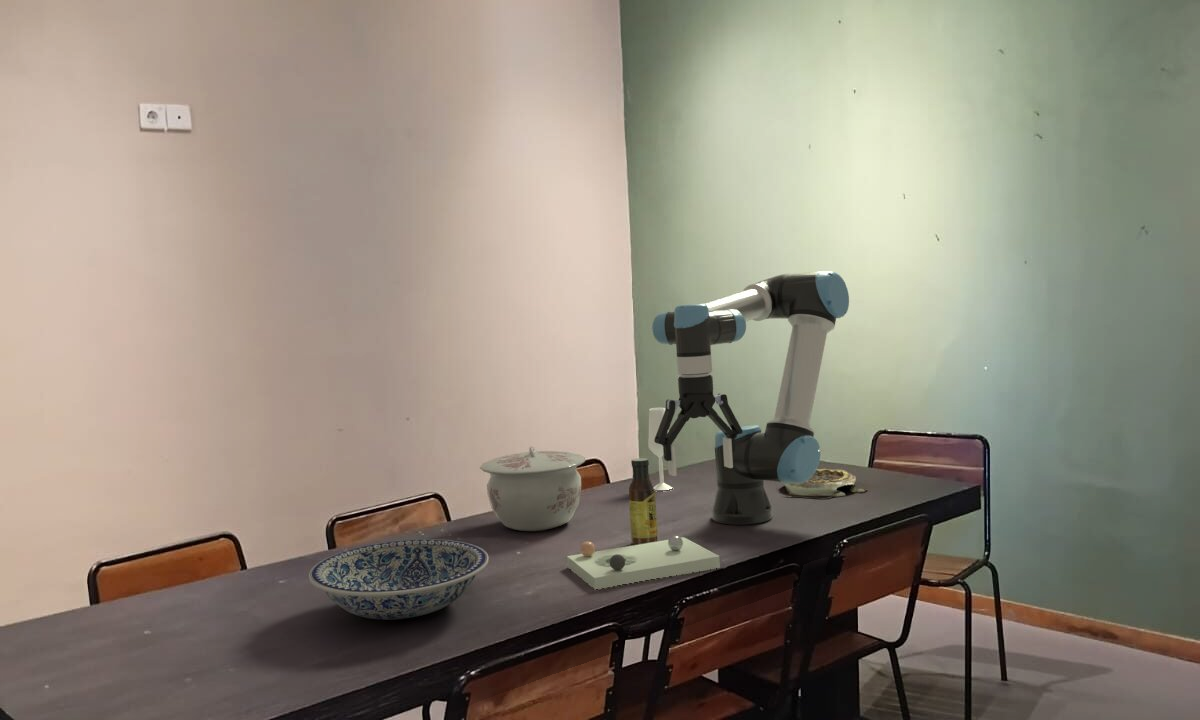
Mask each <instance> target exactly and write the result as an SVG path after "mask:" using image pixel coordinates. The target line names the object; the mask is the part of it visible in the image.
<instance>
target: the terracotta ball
mask: <svg viewBox="0 0 1200 720" xmlns="http://www.w3.org/2000/svg"><path fill="white" fill-rule="evenodd" d="M594 552H596V547H595V544H594V543H593V542H591V541H587V540H586V541H584V542H582V544H581V545H580V554H583V555H584V556H591V555H593V553H594Z"/></svg>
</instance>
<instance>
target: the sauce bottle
mask: <svg viewBox="0 0 1200 720" xmlns="http://www.w3.org/2000/svg"><path fill="white" fill-rule="evenodd" d="M649 462H650V461H649V459H648V458H646V457H645V458H644V457H641V458H640V457H639V458H632V459H631V467H632V481H631V483H630V485H629V487H628V494H629V496H628V497H629V498H628V503H629V505H628V506H629V522H630V534H631V535H630V536H631V543H632V545H639V544H645V543H651V542H657V541H658V517H657V516H658V515H657V503H656V499H657V497H656V491H655V490H654V486H653V484H652V481H651V479H650V473H649V465H650V463H649Z"/></svg>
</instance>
